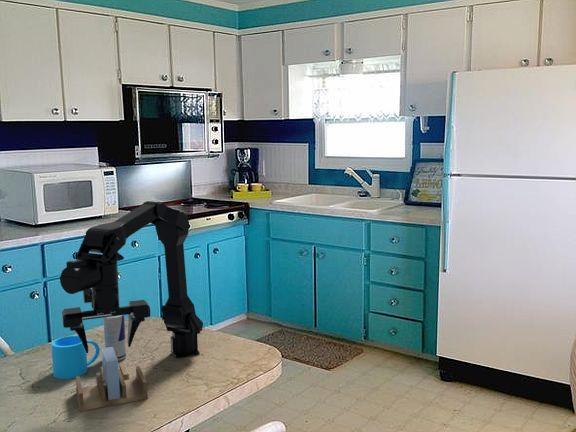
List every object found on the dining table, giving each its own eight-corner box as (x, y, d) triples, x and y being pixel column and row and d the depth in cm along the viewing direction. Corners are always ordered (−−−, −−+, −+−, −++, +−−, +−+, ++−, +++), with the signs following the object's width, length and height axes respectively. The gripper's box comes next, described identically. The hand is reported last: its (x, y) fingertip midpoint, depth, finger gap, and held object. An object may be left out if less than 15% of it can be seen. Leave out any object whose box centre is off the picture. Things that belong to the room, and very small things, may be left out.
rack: (140, 381, 145) (139, 365, 144) (147, 398, 136) (147, 381, 135) (76, 392, 139) (75, 376, 138) (79, 411, 130) (78, 393, 129)
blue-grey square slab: (114, 382, 142) (112, 346, 140) (120, 398, 134) (117, 360, 132) (103, 384, 141) (101, 348, 139) (108, 400, 133) (106, 361, 131)
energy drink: (130, 355, 161) (128, 313, 159) (118, 362, 156) (116, 319, 154) (113, 353, 163) (111, 311, 161) (101, 360, 158) (99, 317, 156)
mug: (60, 381, 145) (58, 349, 144) (48, 371, 151) (46, 341, 150) (107, 368, 153) (105, 337, 152) (93, 359, 159) (91, 330, 158)
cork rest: (124, 369, 152) (123, 362, 152) (129, 381, 145) (128, 374, 144) (101, 373, 150) (100, 366, 149) (104, 386, 142) (104, 378, 142)
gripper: (141, 271, 144) (143, 332, 146) (58, 279, 137) (62, 344, 139) (149, 281, 134) (152, 347, 136) (61, 290, 127) (65, 360, 129)
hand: (108, 349), depth 135 cm, fingers open, 9 cm apart
